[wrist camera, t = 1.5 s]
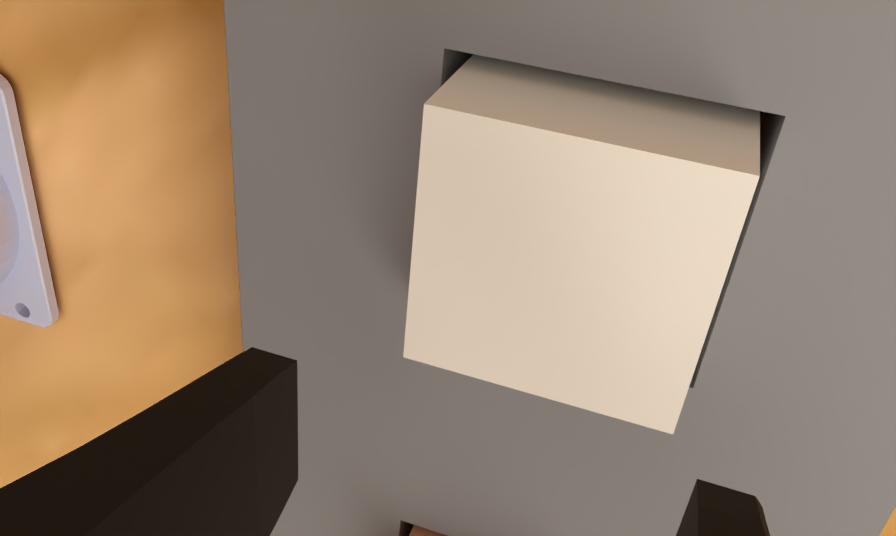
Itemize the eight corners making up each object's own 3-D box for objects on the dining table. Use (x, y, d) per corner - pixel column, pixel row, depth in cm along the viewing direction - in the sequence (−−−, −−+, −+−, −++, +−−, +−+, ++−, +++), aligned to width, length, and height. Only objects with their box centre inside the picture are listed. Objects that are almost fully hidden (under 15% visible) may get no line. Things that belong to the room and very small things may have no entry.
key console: (302, 586, 29) (260, 663, 26) (299, -204, 15) (212, -199, 13) (710, 733, 26) (705, 835, 23) (1132, -91, 12) (1222, -58, 10)
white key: (452, 275, 18) (403, 357, 15) (478, 49, 15) (423, 104, 13) (685, 337, 17) (673, 434, 14) (760, 104, 14) (759, 176, 11)
